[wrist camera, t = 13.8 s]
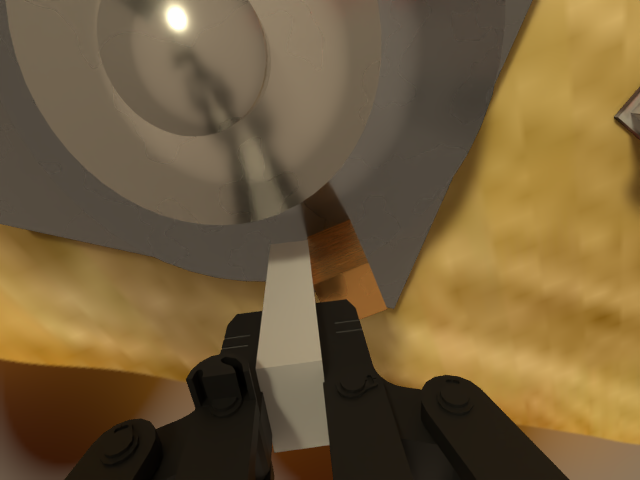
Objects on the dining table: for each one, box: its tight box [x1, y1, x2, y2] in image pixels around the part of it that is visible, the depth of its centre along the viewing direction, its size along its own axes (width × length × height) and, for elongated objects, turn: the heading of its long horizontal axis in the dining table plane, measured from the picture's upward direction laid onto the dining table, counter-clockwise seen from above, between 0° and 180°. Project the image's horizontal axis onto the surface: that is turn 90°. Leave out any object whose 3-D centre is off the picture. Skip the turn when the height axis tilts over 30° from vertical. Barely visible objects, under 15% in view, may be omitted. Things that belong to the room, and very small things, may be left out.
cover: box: [6, 0, 381, 225], centre depth 9 cm, size 8×8×6 cm
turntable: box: [0, 0, 506, 320], centre depth 12 cm, size 18×18×6 cm
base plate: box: [0, 0, 532, 309], centre depth 15 cm, size 20×20×1 cm
